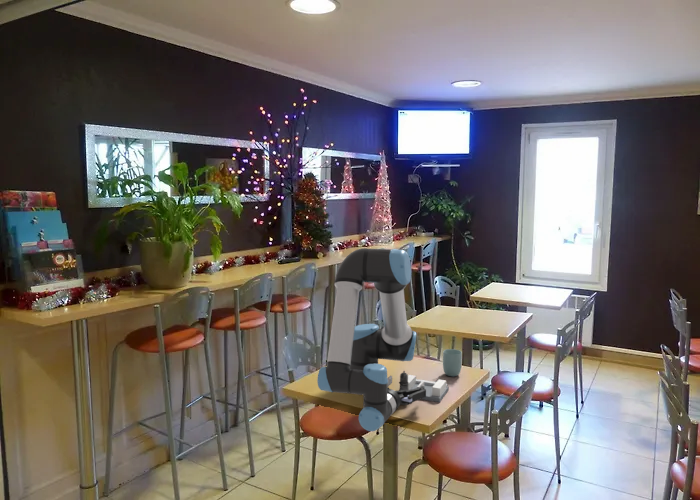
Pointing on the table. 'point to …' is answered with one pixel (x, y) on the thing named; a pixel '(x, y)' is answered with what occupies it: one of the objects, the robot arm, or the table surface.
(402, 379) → the salt shaker
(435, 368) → the table surface
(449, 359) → the cup
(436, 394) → the rail board
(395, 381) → the table surface
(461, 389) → the table surface
